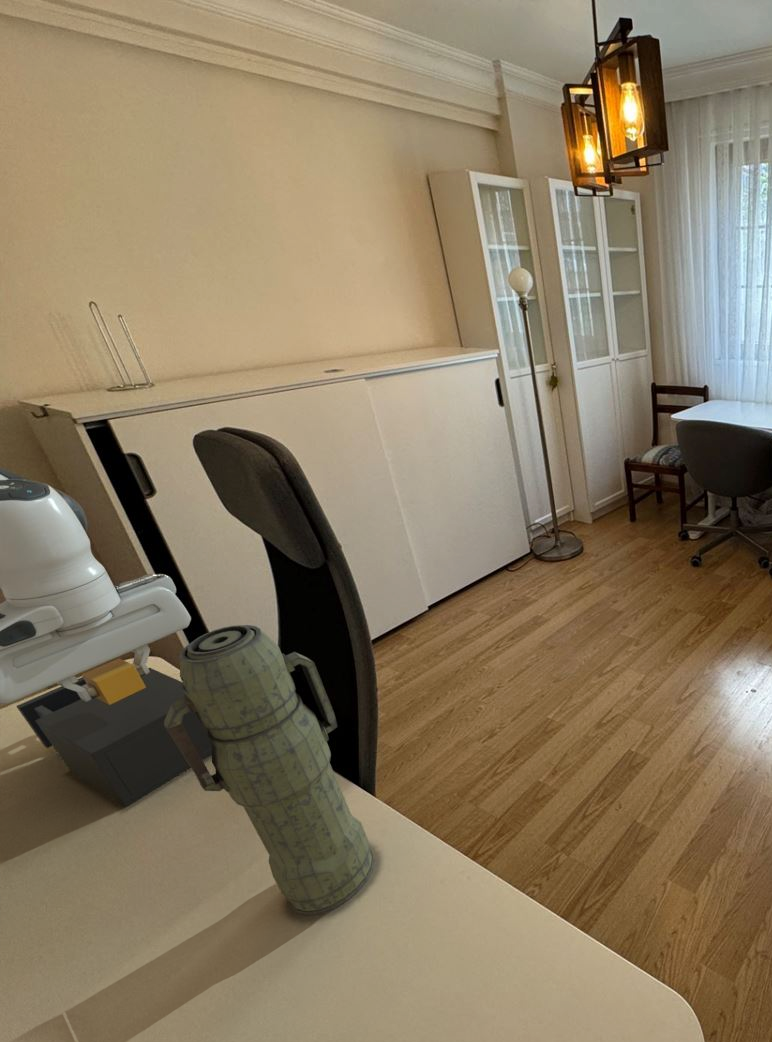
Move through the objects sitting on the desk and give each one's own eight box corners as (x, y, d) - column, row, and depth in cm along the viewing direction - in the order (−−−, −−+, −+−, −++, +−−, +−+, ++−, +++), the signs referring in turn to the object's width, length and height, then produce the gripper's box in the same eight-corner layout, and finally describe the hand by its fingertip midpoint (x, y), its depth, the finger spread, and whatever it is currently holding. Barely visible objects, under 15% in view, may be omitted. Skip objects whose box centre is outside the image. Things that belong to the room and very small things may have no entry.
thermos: (259, 902, 65) (118, 658, 50) (362, 825, 74) (268, 599, 59) (296, 944, 60) (153, 691, 46) (400, 857, 69) (310, 622, 55)
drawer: (31, 737, 88) (3, 698, 84) (126, 692, 98) (105, 655, 94) (90, 775, 81) (62, 733, 77) (187, 721, 91) (166, 683, 87)
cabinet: (70, 771, 83) (34, 720, 79) (176, 715, 94) (149, 667, 89) (126, 807, 77) (90, 753, 73) (231, 742, 88) (206, 692, 83)
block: (94, 697, 77) (80, 674, 76) (131, 680, 81) (119, 658, 79) (109, 705, 76) (95, 682, 74) (146, 687, 79) (133, 664, 78)
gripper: (154, 564, 82) (192, 641, 88) (-64, 637, 65) (1, 727, 71) (178, 571, 80) (215, 650, 85) (-41, 649, 63) (23, 741, 68)
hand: (116, 686), depth 78 cm, fingers closed on block, 4 cm apart
